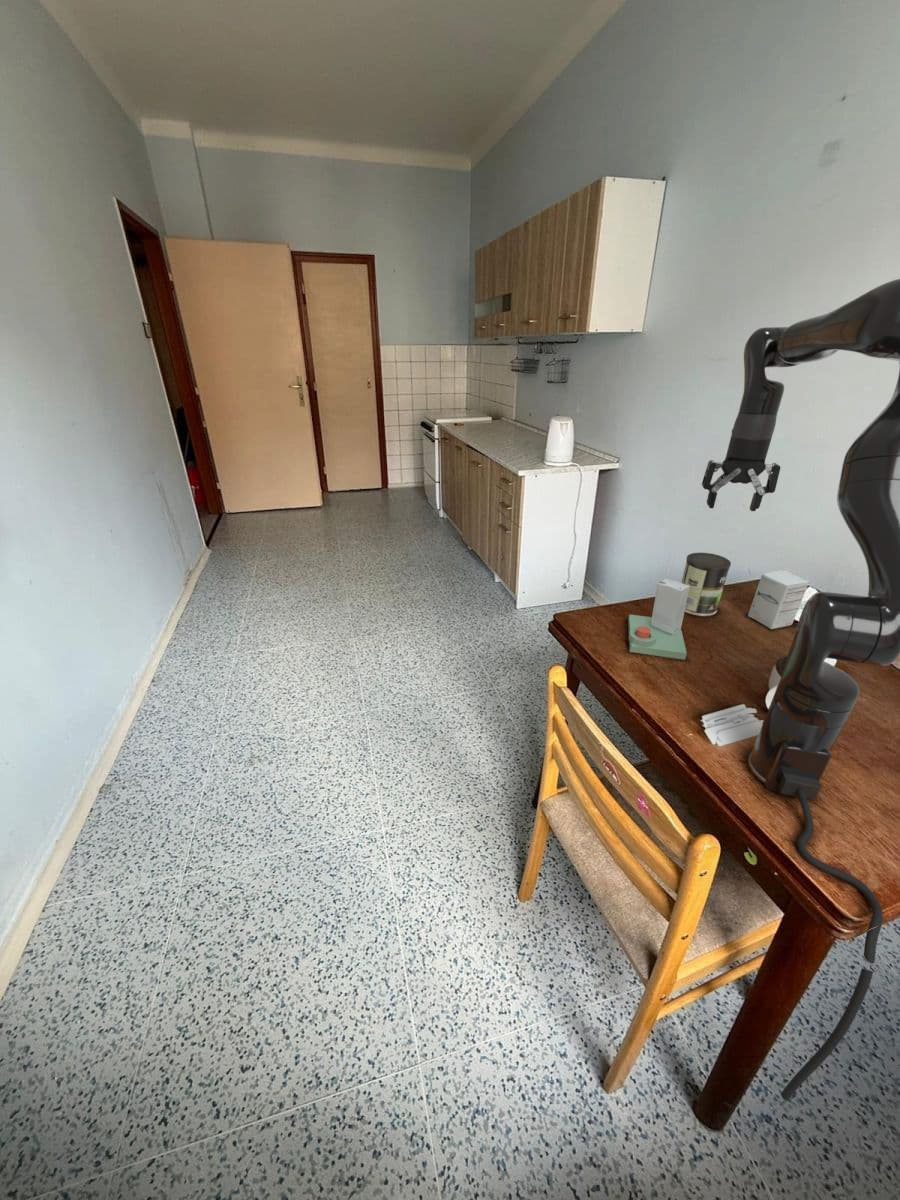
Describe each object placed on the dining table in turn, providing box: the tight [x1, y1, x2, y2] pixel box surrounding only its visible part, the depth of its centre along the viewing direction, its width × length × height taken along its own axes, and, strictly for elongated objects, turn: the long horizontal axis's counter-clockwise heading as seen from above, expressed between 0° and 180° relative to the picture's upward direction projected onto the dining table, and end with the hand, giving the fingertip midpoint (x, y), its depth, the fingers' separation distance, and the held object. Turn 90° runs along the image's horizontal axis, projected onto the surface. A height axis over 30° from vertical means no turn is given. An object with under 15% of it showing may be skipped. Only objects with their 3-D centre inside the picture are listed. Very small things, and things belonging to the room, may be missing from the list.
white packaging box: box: [747, 569, 810, 630], centre depth 119 cm, size 7×7×13 cm
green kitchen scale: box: [627, 614, 688, 661], centre depth 115 cm, size 15×12×4 cm
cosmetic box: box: [651, 577, 690, 635], centre depth 113 cm, size 6×4×12 cm
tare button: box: [636, 626, 651, 639], centre depth 111 cm, size 3×3×2 cm
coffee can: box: [680, 552, 732, 617], centre depth 126 cm, size 10×10×14 cm
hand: (731, 508), depth 108 cm, fingers open, 8 cm apart
